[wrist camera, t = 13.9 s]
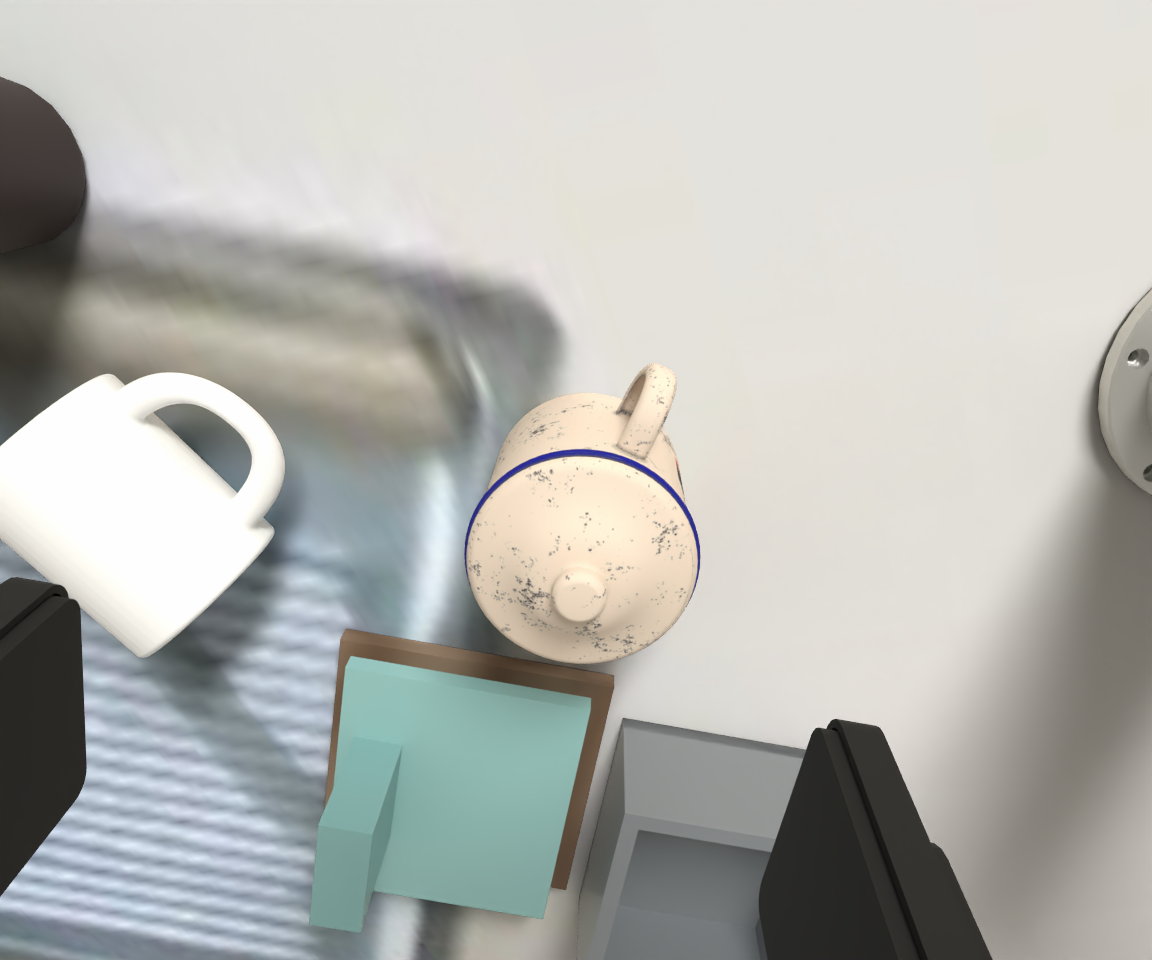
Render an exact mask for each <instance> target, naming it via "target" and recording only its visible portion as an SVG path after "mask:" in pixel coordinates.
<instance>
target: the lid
mask: <svg viewBox="0 0 1152 960" xmlns="http://www.w3.org/2000/svg"><path fill="white" fill-rule="evenodd" d="M590 711H591V698H588V697H582V696H577V695H571V694H565V693H560V692H554V691H548V690H543V689H537V688H531V687H525V686H520V685H514V684H508V683H503V682H497V681H491V680H485V679H480V678H474V677H468V676H463V675H457V674H451V673H445V672H440V671H434V670H428V669H423V668H417V667H411V666H406V665H400V664H394V663H388V662H383V661H377V660H371V659H366V658H360V657H354V656H351V657H350V659H349V661H348V663H347V665H346V667H345V676H344V686H343V696H342V706H341V716H340V726H339V736H338V746H337V756H336V766H335V776H334V786H333V791H332V793H331V795H330V798H329V800H328V803H327V805H326V807H325V810H324V812H323V815H322V817H321V820H320V822H319V824H318V832H317V843H316V854H315V865H314V875H313V886H312V897H311V908H310V918H309V925H315V926H321V927H327V928H333V929H339V930H345V931H352V932H358V933H361V930H362V926H363V923H364V920H365V917H366V913H367V910H368V907H369V904H370V900H371V897H372V894H373V891H377V892H383V893H389V894H395V895H401V896H407V897H413V898H419V899H425V900H431V901H437V902H443V903H449V904H455V905H461V906H467V907H473V908H479V909H485V910H491V911H497V912H503V913H509V914H515V915H521V916H527V917H533V918H539V919H543V917H544V912H545V908H546V903H547V899H548V895H549V890H550V886H551V882H552V877H553V873H554V868H555V864H556V860H557V855H558V851H559V847H560V842H561V838H562V833H563V829H564V825H565V820H566V816H567V812H568V807H569V803H570V798H571V794H572V790H573V785H574V781H575V777H576V772H577V768H578V763H579V759H580V755H581V750H582V746H583V742H584V737H585V733H586V728H587V724H588V720H589V715H590Z"/></svg>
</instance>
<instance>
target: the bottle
mask: <svg viewBox="0 0 1152 960" xmlns="http://www.w3.org/2000/svg"><path fill="white" fill-rule="evenodd" d="M85 182H86V179H85V172H84V166H83V159H82V154H81V151H80V149H79V147H78V145H77V143H76V140H75V138H74V136H73V134H72V131H71V129H70V128H69V126H68V125H67V124H66V123H65V121H64V120H63V119H62V118H61V116H60V115H59V114H58V113H57V111H56V110H55V109H54V108H53V106H52V105H51V104H49V103H48V102H46V101H45V100H44V99H42V98H41V97H40V96H38V95H37V94H36V93H34V92H33V91H32V90H30V89H29V88H27V87H25V86H23V85H20V84H18V83H15V82H12V81H10V80H7V79H4V78H2V77H0V253H3V252H7V251H12V250H16V249H20V248H25V247H29V246H33V245H36V244H39V243H42V242H46V241H49V240H52V239H53V238H55V237H56V236H57V235H58V234H60V233H61V232H62V231H63V230H65V229H66V228H67V227H68V226H69V225H70V224H71V223H72V221H73V220H74V218H75V216H76V214H77V212H78V211H79V209H80V207H81V205H82V201H83V195H84V188H85Z"/></svg>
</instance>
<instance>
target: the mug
mask: <svg viewBox="0 0 1152 960" xmlns="http://www.w3.org/2000/svg"><path fill="white" fill-rule="evenodd" d="M179 403H188V404H194V405H198V406H201V407H204V408H206V409H208V410H210V411H212V412H214V413H215V414H217V415H218V416H220V417H221V418H222V419H224V420H225V421H226V422H228V423H229V424H230V425H231V426H232V427H233V428H235V429H236V430H237V431H238V432H239V433H240V434H241V436H242V437H243V438H244V439H245V441H246V442H247V444H248V446H249V448H250V451H251V455H252V466H251V470H250V473H249V476H248V478H247V480H246V482H245V484H244V485H243V487H242V488H241V489H240V491H239V492H238V493H237V492H236V491H235V490H234V489H233V488H232V487H231V486H230V485H229V484H227V483H226V482H225V481H224V480H223V479H222V478H221V477H220V476H219V475H218V474H217V473H216V472H215V471H214V470H213V469H212V468H211V467H210V466H209V465H208V464H207V463H206V462H204V461H203V460H202V459H201V458H200V457H199V456H198V455H197V454H196V453H195V452H194V451H193V450H192V449H191V448H190V447H189V446H188V445H187V444H186V443H185V442H184V441H183V440H181V439H180V438H179V437H178V436H177V435H176V434H175V433H174V432H173V431H172V430H171V429H170V428H169V427H168V426H167V425H166V424H165V423H164V422H163V421H162V420H161V419H159V418H158V417H157V416H156V415H155V414H154V413H153V412H154V411H156V410H158V409H160V408H162V407H165V406H168V405H172V404H179ZM284 476H285V459H284V454H283V451H282V448H281V445H280V443H279V440H278V439H277V437H276V435H275V433H274V432H273V430H272V429H271V427H270V426H269V425H268V423H267V422H266V421H265V420H264V419H263V418H262V417H261V416H260V415H259V414H258V413H257V412H256V411H255V410H254V409H253V408H252V407H251V406H250V405H248V404H247V403H246V402H245V401H243V400H242V399H241V398H239V397H238V396H237V395H235V394H234V393H232V392H230V391H229V390H227V389H225V388H224V387H222V386H220V385H218V384H216V383H213V382H211V381H209V380H206V379H204V378H200V377H197V376H193V375H189V374H183V373H158V374H152V375H148V376H145V377H142V378H140V379H137V380H135V381H133V382H131V383H129V384H127V385H126V386H125V385H124V384H123V383H122V382H121V381H120V380H119V379H118V378H117V377H115V376H114V375H111V374H105V375H101V376H98V377H96V378H94V379H92V380H90V381H88V382H86V383H84V384H82V385H81V386H79V387H77V388H76V389H74V390H73V391H71V392H70V393H68V394H67V395H65V396H64V397H62V398H61V399H59V400H58V401H56V402H55V403H54V404H52V405H51V406H50V407H48V408H47V409H45V410H44V411H43V412H41V413H40V414H39V415H38V416H36V417H35V418H34V419H32V420H31V421H30V422H29V423H27V424H26V425H25V426H24V427H22V428H21V429H20V430H19V431H17V432H16V433H15V434H14V435H13V436H12V437H10V438H9V439H8V440H7V441H6V442H5V443H3V444H2V445H1V446H0V539H1V540H2V541H4V542H5V543H6V544H7V545H8V546H9V547H11V548H12V549H13V550H14V551H15V552H16V553H18V554H19V555H20V556H21V557H22V558H23V559H25V560H26V561H27V562H28V563H29V564H30V565H32V566H33V567H34V568H35V569H36V570H37V571H39V572H40V573H41V574H42V575H43V576H44V577H46V578H47V579H48V580H49V581H50V582H51V583H53V584H59V585H62V586H63V587H65V589H66V591H67V592H68V596H69V598H70V599H74V600H76V601H77V602H78V604H79V606H80V607H81V608H82V609H83V610H84V611H85V612H86V613H88V614H89V615H90V616H91V617H92V618H93V619H95V620H96V621H97V622H98V623H99V624H100V625H102V626H103V627H104V628H105V629H106V630H107V631H109V632H110V633H111V634H112V635H113V636H114V637H116V638H117V639H118V640H119V641H120V642H121V643H123V644H124V645H125V646H126V647H127V648H128V649H130V650H131V651H132V652H133V653H134V654H135V655H137V656H138V657H140V658H145V657H148V656H150V655H152V654H153V653H155V652H156V651H158V650H159V649H160V648H162V647H163V646H164V645H166V644H167V643H168V642H169V641H171V640H172V639H173V638H174V637H175V636H177V635H178V634H179V633H180V632H181V631H182V630H184V629H185V628H186V627H187V626H188V625H189V624H190V623H191V622H193V621H194V620H195V619H196V618H197V617H198V616H199V615H200V614H201V613H202V612H203V611H205V610H206V609H207V608H208V607H209V606H210V605H211V604H212V603H213V602H214V601H215V600H216V599H217V598H218V597H219V596H220V595H221V594H222V593H223V592H224V591H225V590H226V589H227V588H228V587H229V586H230V585H231V584H232V583H233V582H234V581H235V580H236V579H237V578H238V577H239V576H240V575H241V574H242V573H243V572H244V571H245V570H246V569H247V568H248V567H249V566H250V565H251V564H252V562H253V561H254V560H255V559H256V558H257V557H258V556H259V555H260V553H261V552H262V551H263V550H264V549H265V548H266V546H267V545H268V544H269V542H270V541H271V539H272V538H273V536H274V532H275V531H274V528H273V527H272V526H271V525H270V524H269V523H268V522H267V521H266V520H265V519H264V518H263V517H264V516H265V514H266V513H267V512H268V511H269V509H270V508H271V507H272V505H273V504H274V502H275V500H276V499H277V497H278V495H279V493H280V490H281V488H282V485H283V481H284Z"/></svg>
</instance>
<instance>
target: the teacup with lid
mask: <svg viewBox="0 0 1152 960" xmlns="http://www.w3.org/2000/svg"><path fill="white" fill-rule="evenodd" d="M675 392H676V377H675V374H674V373H673V371H672V370H670V369H668V368H666V367H664V366H662V365H660V364H657V363H652V364H649V365H647V366H646V367H644V368H643V369H642V370H641V371H640V372H639V373H638V375H637V376H636V377H635V379H634V380H633V382H632V383H631V385H630V387H629V388H628V390H627V392H626V394H625V396H624V397H623V399H620V398H616V397H613V396H609V395H604V394H597V393H577V394H570V395H564V396H561V397H557V398H554V399H552V400H549V401H547V402H545V403H543V404H541V405H539V406H537V407H536V408H534V409H533V410H531V411H530V412H529V413H527V414H526V415H525V416H524V417H523V418H522V419H521V420H520V421H519V422H518V423H517V424H516V425H515V426H514V427H513V429H512V430H511V431H510V433H509V434H508V436H507V438H506V439H505V441H504V443H503V445H502V448H501V450H500V453H499V456H498V459H497V462H496V465H495V468H494V471H493V474H492V477H491V480H490V483H489V486H488V489H487V492H486V493H485V495H484V496H483V498H482V499H481V500H480V502H479V504H478V505H477V507H476V509H475V511H474V513H473V515H472V518H471V520H470V523H469V527H468V530H467V534H466V541H465V567H466V573H467V577H468V580H469V584H470V587H471V589H472V592H473V594H474V596H475V599H476V601H477V603H478V604H479V606H480V608H481V610H482V611H483V613H484V614H485V616H486V617H487V618H488V619H489V621H490V622H491V623H492V624H493V625H494V626H495V627H496V628H497V629H498V630H499V631H500V632H501V633H502V634H503V635H504V636H506V637H507V638H508V639H509V640H511V641H512V642H514V643H515V644H517V645H518V646H520V647H522V648H523V649H525V650H527V651H529V652H531V653H534V654H536V655H539V656H541V657H544V658H547V659H551V660H554V661H559V662H565V663H574V664H593V663H602V662H608V661H613V660H617V659H620V658H623V657H626V656H629V655H631V654H634V653H636V652H638V651H640V650H642V649H644V648H646V647H647V646H649V645H650V644H652V643H653V642H655V641H656V640H658V639H659V638H660V637H661V636H663V635H664V634H665V633H666V632H667V631H668V630H669V629H670V628H671V627H672V626H673V625H674V624H675V622H676V621H677V620H678V619H679V617H680V616H681V614H682V613H683V611H684V610H685V608H686V606H687V605H688V603H689V601H690V599H691V597H692V594H693V592H694V589H695V587H696V583H697V579H698V575H699V569H700V545H699V539H698V534H697V531H696V527H695V524H694V522H693V519H692V517H691V514H690V513H689V511H688V509H687V507H686V504H685V498H684V493H683V487H682V482H681V476H680V471H679V465H678V461H677V457H676V454H675V451H674V449H673V446H672V444H671V442H670V440H669V439H668V437H667V435H666V434H665V432H664V431H663V430H662V426H663V424H664V422H665V420H666V418H667V415H668V413H669V410H670V408H671V405H672V402H673V399H674V396H675Z"/></svg>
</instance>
